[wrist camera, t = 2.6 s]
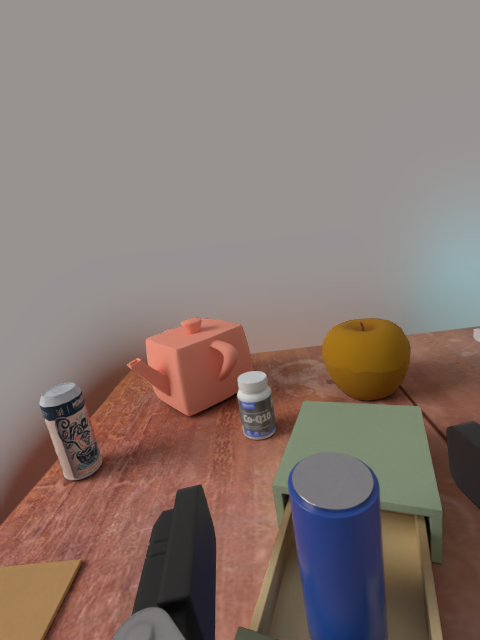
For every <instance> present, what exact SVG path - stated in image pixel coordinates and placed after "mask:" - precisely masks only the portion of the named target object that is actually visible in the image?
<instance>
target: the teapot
mask: <svg viewBox="0 0 480 640" xmlns="http://www.w3.org/2000/svg"><path fill="white" fill-rule="evenodd" d="M181 324H182V326H180V327H177V328H174V329H169V330H167V331H165V332H163V333H160V334H157V335H155V336H152V337H149V338H147V339H146V349H147V359H148V365H147V364H145V363H143V362H142V361H141V360H140V359H138V358H137V359H135V360H133V361H132V362H130V363H129V364H127V366H128V367H129V368H130V369H132V370H133V371H134V372H136V373H137V374H138V375H140V376H141V377H142V378H144V379H145V380H146V381H147V382H149V383H150V384H151V385H152V386H153V389H154V391H155V393H156V395H157V397H158V398H160V399H161V400H162V401H164V402H165V403H167V404H168V405H170V406H172V407H173V408H175V409H177V410H178V411H180V412H182V413H183V414H185V415H187V416H191V415H194V414H196V413H199V412H201V411H203V410H205V409H207V408H209V407H211V406H213V405H215V404H217V403H219V402H221V401H223V400H225V399H227V398H229V397H230V396H232V395H234V394H236V393H237V392H238V390H239V387H238V380H237V379H238V377H239V376H240V375H241V374H243V373H246V372H250V371H253V364H252V359H251V355H250V351H249V347H248V343H247V340H246V336H245V333H244V330H243V327H242V325H241V324H237V323H232V322H227V321H221V320H216V319H209V318H205V319H201V318H190V319H186V320H184V321H183V322H181Z"/></svg>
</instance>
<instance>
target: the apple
mask: <svg viewBox="0 0 480 640" xmlns="http://www.w3.org/2000/svg"><path fill="white" fill-rule="evenodd" d="M322 357H323V360H324V363H325V366H326V369H327V371H328V373H329V375H330V377H331V379H332V380H333V381H334V383H335V384H336V385H337V386H338V388H340V389H341V390H342V391H343V392H344V393H346V394H347V395H348V396H350V397H353V398H355V399H358V400H375V399H381V398H384V397H387V396H389V395H391V394H392V393H393V392H395V391H396V390H397V388H398V387H399V386H400V385H401V383H402V381H403V379H404V378H405V376H406V373H407V370H408V367H409V363H410V344H409V341H408V339H407V337H406V336H405V334H404V332H403V331H402V329H401V328H400V327H399V326H397V325H396V324H394V323H393V322H391V321H388V320H383V319H376V318H369V319H356V320H349V321H346V322H343V323H340V324H338V325H336V326H334V327H333V328H332V329H331V330H330V331H329V332H328V333H327V335H326V337H325V339H324V341H323V348H322Z"/></svg>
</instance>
